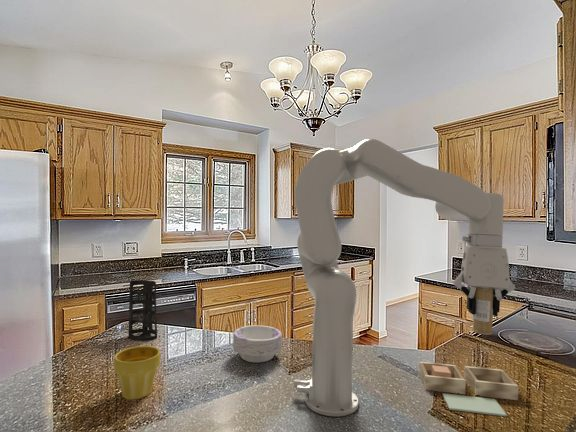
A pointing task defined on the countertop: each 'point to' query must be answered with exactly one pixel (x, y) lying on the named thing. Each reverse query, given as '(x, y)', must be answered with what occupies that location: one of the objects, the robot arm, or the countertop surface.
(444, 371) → the terracotta cube
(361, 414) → the countertop surface
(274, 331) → the white bowl
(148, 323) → the holder
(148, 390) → the plant pot
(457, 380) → the box
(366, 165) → the robot arm
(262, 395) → the countertop surface
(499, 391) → the box
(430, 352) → the countertop surface
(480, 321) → the sprinkles bottle
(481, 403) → the mat
